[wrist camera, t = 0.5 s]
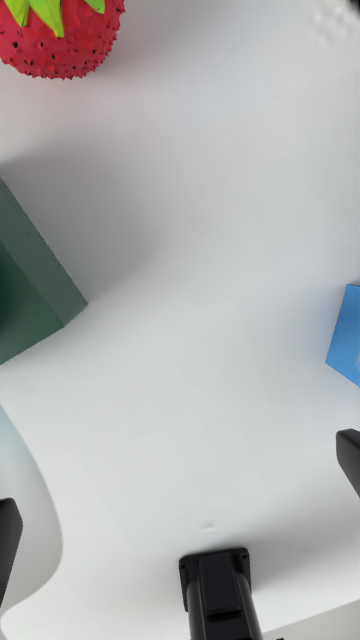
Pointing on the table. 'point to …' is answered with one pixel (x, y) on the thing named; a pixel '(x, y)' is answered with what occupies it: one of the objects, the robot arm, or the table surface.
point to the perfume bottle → (347, 337)
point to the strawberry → (57, 35)
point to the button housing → (30, 283)
